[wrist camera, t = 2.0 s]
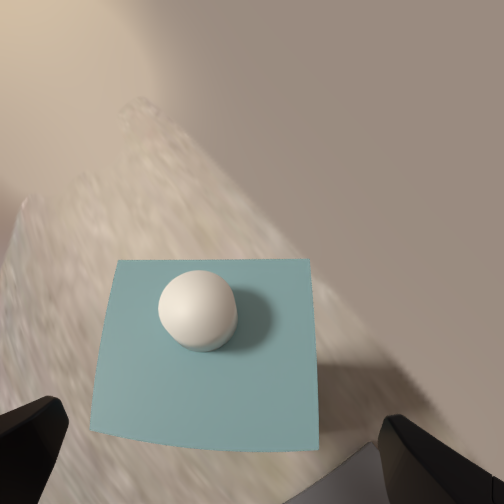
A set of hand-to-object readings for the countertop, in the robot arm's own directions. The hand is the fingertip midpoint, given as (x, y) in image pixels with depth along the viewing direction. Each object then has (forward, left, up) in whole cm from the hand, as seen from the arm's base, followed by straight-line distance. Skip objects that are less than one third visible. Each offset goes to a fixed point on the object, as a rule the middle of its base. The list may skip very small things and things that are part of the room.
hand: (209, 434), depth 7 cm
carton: (+2, 0, -9) cm, 10 cm away
